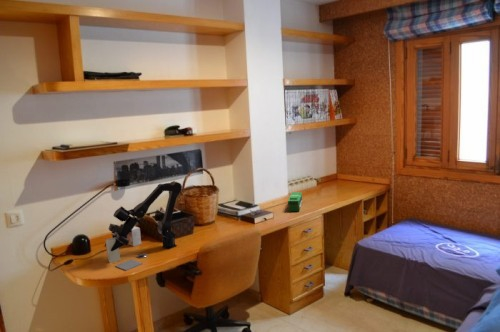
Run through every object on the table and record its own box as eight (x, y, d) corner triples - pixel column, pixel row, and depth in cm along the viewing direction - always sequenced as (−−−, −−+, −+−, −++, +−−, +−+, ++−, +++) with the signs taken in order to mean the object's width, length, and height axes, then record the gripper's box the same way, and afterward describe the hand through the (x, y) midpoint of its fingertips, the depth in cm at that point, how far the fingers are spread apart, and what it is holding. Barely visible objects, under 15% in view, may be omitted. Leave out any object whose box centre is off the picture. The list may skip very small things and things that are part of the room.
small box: (126, 244, 250) (124, 227, 248) (135, 241, 253) (133, 225, 252) (133, 246, 244) (131, 230, 242) (141, 244, 248) (139, 227, 246)
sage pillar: (118, 257, 227) (115, 237, 226) (120, 260, 223) (117, 239, 221) (108, 259, 225) (105, 239, 223) (110, 263, 220) (107, 241, 218)
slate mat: (131, 260, 222) (131, 259, 222) (142, 264, 215) (142, 263, 215) (115, 266, 214) (115, 265, 214) (126, 270, 208) (126, 269, 208)
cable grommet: (143, 253, 231) (143, 252, 231) (149, 255, 227) (149, 254, 227) (134, 256, 227) (134, 256, 227) (140, 258, 223) (140, 258, 223)
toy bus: (306, 203, 318) (305, 191, 317) (298, 212, 293) (298, 199, 292) (292, 203, 322) (292, 190, 320) (284, 212, 297) (283, 199, 296)
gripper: (113, 214, 230) (95, 237, 227) (120, 221, 214) (101, 246, 210) (128, 225, 235) (111, 247, 232) (136, 233, 219) (118, 257, 215)
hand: (110, 249), depth 222 cm, fingers closed on sage pillar, 5 cm apart
